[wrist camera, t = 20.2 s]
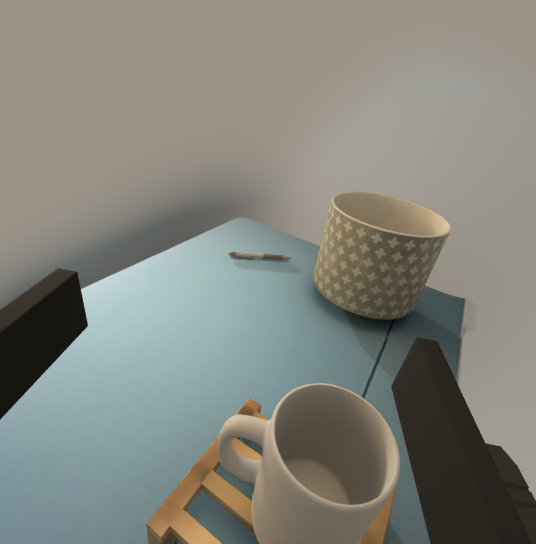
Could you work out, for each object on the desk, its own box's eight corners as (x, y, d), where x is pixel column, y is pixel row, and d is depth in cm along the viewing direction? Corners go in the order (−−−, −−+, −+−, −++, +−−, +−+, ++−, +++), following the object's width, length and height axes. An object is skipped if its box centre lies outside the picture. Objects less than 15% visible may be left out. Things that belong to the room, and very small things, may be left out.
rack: (148, 546, 26) (145, 523, 24) (245, 420, 37) (249, 397, 35) (325, 723, 20) (342, 714, 18) (380, 511, 31) (395, 490, 29)
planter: (319, 328, 53) (348, 228, 44) (303, 269, 69) (322, 186, 60) (427, 337, 55) (477, 242, 46) (387, 277, 71) (418, 198, 62)
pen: (227, 256, 70) (228, 250, 69) (290, 260, 72) (291, 255, 71) (227, 258, 69) (228, 252, 68) (291, 262, 71) (292, 257, 70)
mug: (355, 478, 29) (396, 402, 24) (352, 604, 22) (410, 537, 16) (232, 435, 31) (242, 354, 25) (191, 538, 24) (194, 458, 18)
